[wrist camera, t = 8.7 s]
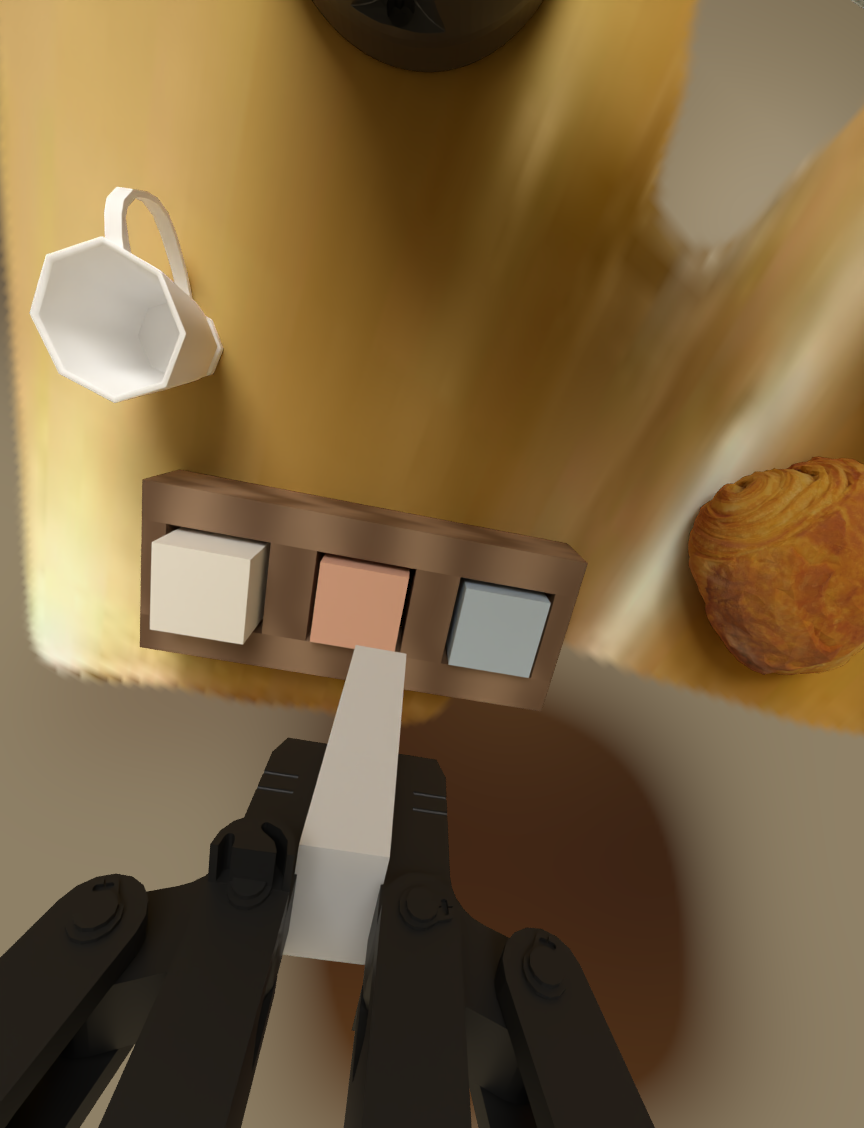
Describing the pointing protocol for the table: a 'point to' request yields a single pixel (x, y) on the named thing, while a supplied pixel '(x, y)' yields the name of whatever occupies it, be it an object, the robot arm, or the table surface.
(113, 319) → the cup
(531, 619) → the slate key
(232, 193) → the table surface
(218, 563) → the ivory key
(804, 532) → the pastry
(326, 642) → the terracotta key
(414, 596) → the key block
